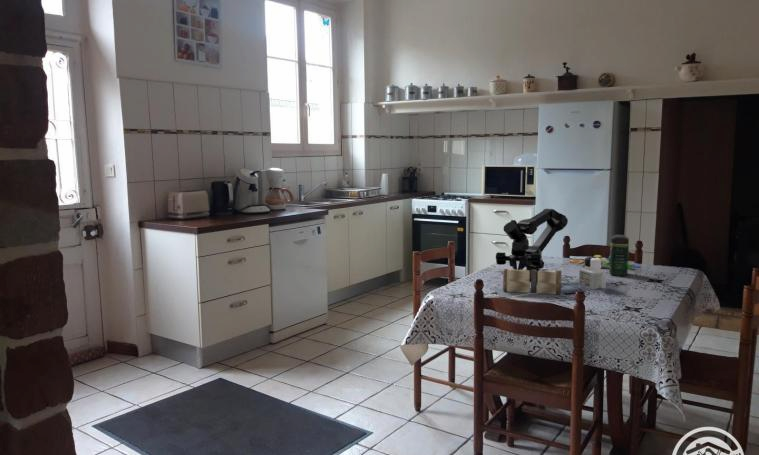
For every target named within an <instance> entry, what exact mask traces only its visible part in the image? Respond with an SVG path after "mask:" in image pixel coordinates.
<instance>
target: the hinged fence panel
mask: <svg viewBox="0 0 759 455" xmlns="http://www.w3.org/2000/svg"><path fill="white" fill-rule="evenodd" d="M502 271H503V272H502V273H503V274H502V276H503V279H502V286H503V287H502V288H503V291H508V292H526V293H529V292H531V293H537V287H538V282H537V270H536V269H531V282H530V270H526V269H523V270H518V269H517V270H514V269H510V268H503V270H502Z"/></svg>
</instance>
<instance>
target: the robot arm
mask: <svg viewBox="0 0 759 455" xmlns="http://www.w3.org/2000/svg"><path fill="white" fill-rule="evenodd" d="M568 222H569V220H568V218H567V216H566V215H564V214H563V213H561V212H558V211H557V210H555V209H553V208H544V209H543V210H542V211H540V212H538V213H537V214H535V215H533V217H531V218H525V219H521V220H519V221H518V222H517V220H516V219H511V221H509V222H507V223H505V225H504V226H503V229H502V230H503V231H504V233H505V234H506V236H508V238H509V239H510V240H513V242H511V251H510V253H511V254H509V255H507V254H506V253H507V252H502V251H501V252H500V251H499V252H498V251H497V252H496V254H495V261H496V265H499V266H500V265H506V264H507V262H509V267H512V268H513V269H512V270H530V283H531V269H536V270H537V283H538V271H540V269H543V268H544V266H545V261H544V260H543V259H542V258H543V254H542V253H543V251H544V250H545V248H546V247H547V246H548V244H549V243H550V241H551V240H552V239H553V238H554V236H555V234H556V233H557V232H558V233H559V232H560V231H562V230H564V228H566V226H567V225H568ZM544 223H546V227H545V228H544V229H543V231H542V232H541V234H539V236H538V238H536V240H535V241H534V243H533V244H532V245H529V244H530V243H529V239H528V236H527V235H533V234H534V233H536V232H537V230H538V227H540V226H541V225H543V224H544ZM517 263H518V264H517ZM525 268H526V269H525Z"/></svg>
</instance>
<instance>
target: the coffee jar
mask: <svg viewBox="0 0 759 455" xmlns="http://www.w3.org/2000/svg"><path fill="white" fill-rule="evenodd" d="M629 244H630V239H629V237H628V236H626V235H625V234H614V235H612V236H611V237H610V247H609V248H610V250H609V256H610V269H609V275H612V276H617V277H622V276H627V275H628V271H629V269H628V263H629V252H630V251H629V248H630V247H629Z"/></svg>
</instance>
